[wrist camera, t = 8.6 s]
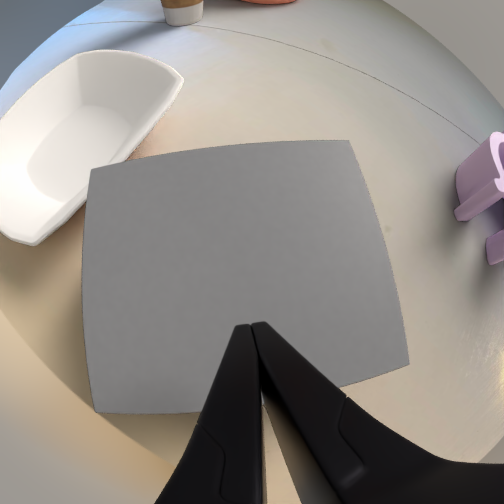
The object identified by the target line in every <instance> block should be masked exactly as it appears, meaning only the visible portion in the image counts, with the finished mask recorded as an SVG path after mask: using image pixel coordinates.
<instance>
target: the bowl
mask: <svg viewBox="0 0 504 504" xmlns="http://www.w3.org/2000/svg"><path fill="white" fill-rule="evenodd" d="M183 83H184V79H183V77H182V76H181V75H180V74H179V73H177V72H176V71H175V70H174V69H173V68H172V67H171V66H169V65H167V64H165V63H163V62H161V61H159V60H157V59H154V58H151V57H148V56H145V55H141V54H138V53H134V52H129V51H120V50H93V51H87V52H82V53H78V54H76V55H74V56H72V57H71V58H69V59H67V60H66V61H64V62H63V63H61V64H59V65H58V66H56V67H55V68H54V69H52V70H51V71H50V72H48V73H47V74H46V75H45V76H43V77H42V78H41V79H40V80H38V81H37V82H36V83H35V84H34V85H33V86H32V87H30V88H29V89H28V90H27V91H26V92H25V93H24V94H23V95H22V96H21V97H20V98H19V99H18V100H17V101H16V102H15V103H14V104H13V105H12V106H11V108H10V109H9V110H8V111H7V112H6V113H5V114H4V116H3V117H2V118H1V119H0V232H1V233H2V234H4V235H5V236H6V237H7V238H9V239H10V240H12V241H15V242H19V243H22V244H26V245H29V246H37V245H38V244H40V243H41V242H43V241H44V240H45V239H46V238H47V237H49V236H50V235H51V234H52V233H53V232H55V231H56V230H57V229H58V228H60V227H61V226H62V225H63V224H65V223H66V222H67V221H68V220H69V219H70V218H71V216H72V215H73V214H74V213H75V212H76V211H77V210H78V209H79V208H80V207H81V206H82V205H83V204H84V203H85V202H86V200H87V192H88V185H89V178H90V172H91V169H94V168H98V167H102V166H106V165H111V164H115V163H120V162H124V161H126V160H127V158H128V157H129V156H130V155H131V154H132V152H133V151H134V150H135V149H136V148H137V146H138V145H139V144H140V143H141V142H142V141H143V139H144V138H145V137H146V136H147V135H148V134H149V133H150V131H151V130H152V129H153V128H154V126H155V125H156V124H157V123H158V121H159V120H160V119H161V118H162V116H163V115H164V114H165V113H166V111H167V110H168V109H169V108H170V107H171V105H172V104H173V103H174V101H175V99H176V97H177V95H178V93H179V91H180V89H181V88H182V86H183Z"/></svg>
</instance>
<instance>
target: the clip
mask: <svg viewBox="0 0 504 504" xmlns="http://www.w3.org/2000/svg"><path fill="white" fill-rule="evenodd" d="M456 189H457V194H458V198H459V201H460V204H461V205H460V206H459V207H457V208H456V209H455V210H454V215H455V217H456V219H457V220H458V221H468V220H470V219H472V218H473V217H475V216H476V215H478V214H479V213H481V212H482V211H484V210H485V209H487V208H488V207H489V206H491V205H492V204H494V203H495V202H497V201H498V200H500V199H501V198H502V197H503V199H504V131H503V132H502V133H500V132H494V133H492V134H491V135H490V136H489V137H488V138H487V139H486V140H485V141H484V142H483V143H482V144H481V145H480V146H479V147H478V148H477V149H476V150H475V151H474V152H473V153H472V154H471V155H470V156H469V157H468V158H467V159H466V160H465V161H464V162H463V163H462V164H461V165H460V166H459V167H458V169H457V172H456ZM486 251H487V261H488V263H489V264H490V265H494V264H496V263H499V262H501V261H503V260H504V229H503V230H501V231H499V232H498V233H496V234H494V235H492V236H490V237H489V238H487V241H486Z"/></svg>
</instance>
